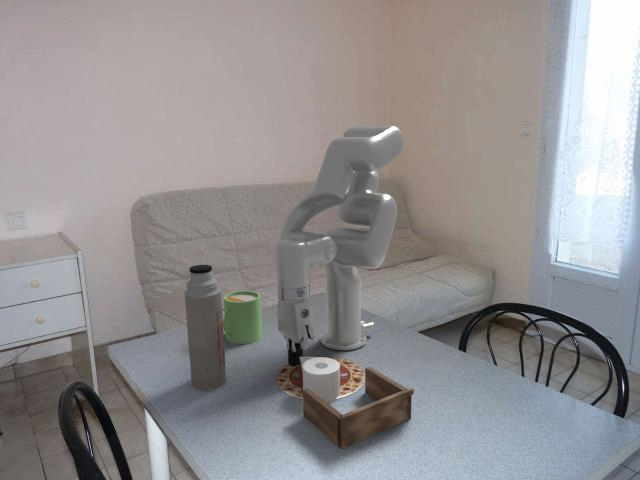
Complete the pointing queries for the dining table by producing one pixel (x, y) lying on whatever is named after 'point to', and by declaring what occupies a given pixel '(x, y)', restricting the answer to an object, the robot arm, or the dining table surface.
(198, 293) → the thermos bottle
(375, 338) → the dining table surface
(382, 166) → the robot arm
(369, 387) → the open wooden box
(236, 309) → the mug
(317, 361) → the toilet paper
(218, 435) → the dining table surface
